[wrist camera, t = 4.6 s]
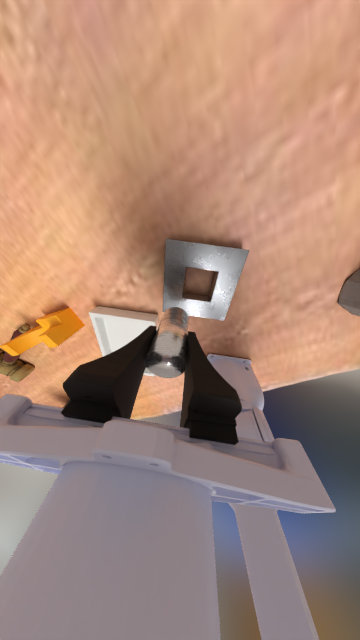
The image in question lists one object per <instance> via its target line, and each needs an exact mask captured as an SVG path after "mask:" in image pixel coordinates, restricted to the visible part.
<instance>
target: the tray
mask: <svg viewBox="0 0 360 640" xmlns="http://www.w3.org/2000/svg"><path fill="white" fill-rule="evenodd" d="M89 314H90V318H91V321H92V324H93V327H94V330H95V333H96V337H97V340H98V343H99V346H100V349H101V353H102V356H103V357H104V356H106V355H108V354H110V353H112V352H114V351H116V350H118V349H120V348H121V347H123V346H125V345H126V344H128V343H129V342H131V341H132V340H133V339H135V338H136V337H137V336H139V335H140V334H141V333H142V332H143V331H144V330H146V329H147V328H148V327H149V326H150V325H151V326H156V331H157V329H158V317H159V315H157V314H150V313H143V312H136V311H129V310H122V309H115V308H108V307H101V306H97V307H96V308H95V309H93V310H92V311H90V312H89ZM143 375H148V376H155V375H154V374H153V373H151V372H150V371H149V370H148V369H147V368H145V371H144V374H143Z"/></svg>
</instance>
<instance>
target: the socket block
mask: <svg viewBox="0 0 360 640" xmlns="http://www.w3.org/2000/svg"><path fill="white" fill-rule="evenodd" d="M248 252H249V250H245V249H239V248H231V247H224V246H217V245H209V244H202V243H194V242H187V241H180V240H172V239H166V248H165V270H164V292H163V312H165V311H166V310H167V309H169V308H171V307H179V308H181V309H183V310H185V311H186V313H187V314H188V316H195V317H202V318H209V319H216V320H223V321H224V319H225V317H226V314H227V311H228V308H229V305H230V303H231V300H232V297H233V294H234V292H235V289H236V286H237V283H238V280H239V278H240V275H241V272H242V269H243V266H244V264H245V261H246V258H247V255H248ZM186 267H190V268H197V269H205V270H212V271H215V275H214V279H213V283H212V287H211V291H210V295H209V296H205V295H198V294H191V293H184V292H183V288H184V281H185V273H186Z"/></svg>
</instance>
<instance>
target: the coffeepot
mask: <svg viewBox="0 0 360 640" xmlns="http://www.w3.org/2000/svg"><path fill="white" fill-rule="evenodd" d="M338 304H340V305H341V306H342V307H343V308H344V309H346V310H347V311H349V312H350V313H351V314H354V315H357V316H360V268H359V269H358V270H357V271H356V272H355V273H354V274H352V275H351V277H350V278H349V279H348V280H347V281H346V282H345V284H344V285H343V287H342V289H341V291H340V294H339V302H338Z"/></svg>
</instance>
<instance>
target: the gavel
mask: <svg viewBox="0 0 360 640" xmlns="http://www.w3.org/2000/svg"><path fill="white" fill-rule="evenodd" d="M29 330H30V328H29V326H28V325H23V326H22V327H20V328H19V329H18V330H16V331H15V332H14V333H13V336H12V338H11V340H12V339H14V338H16V337H18V336H20V335H21V334H23V333H25V332H27V331H29ZM19 356H20V355H16V356H12V355H10V354H9V353H7V352H6V351H5V354H4V351H2V350H0V373H1V374H4V375H6V376H10V379H11V380H14V381H16V382H19V381H21V380H23V379H24V378H25V377H26V376H28V375H29V374H30V373H31V372H32V371H33V370H34V368H35V367H34V366H32V365H30V364H24V362H22V361H20V360H18V358H19Z"/></svg>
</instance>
